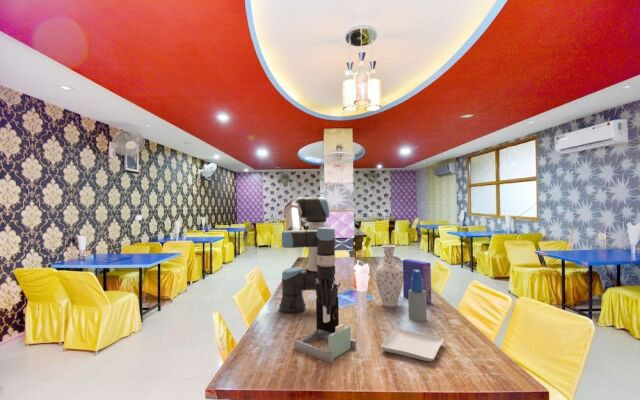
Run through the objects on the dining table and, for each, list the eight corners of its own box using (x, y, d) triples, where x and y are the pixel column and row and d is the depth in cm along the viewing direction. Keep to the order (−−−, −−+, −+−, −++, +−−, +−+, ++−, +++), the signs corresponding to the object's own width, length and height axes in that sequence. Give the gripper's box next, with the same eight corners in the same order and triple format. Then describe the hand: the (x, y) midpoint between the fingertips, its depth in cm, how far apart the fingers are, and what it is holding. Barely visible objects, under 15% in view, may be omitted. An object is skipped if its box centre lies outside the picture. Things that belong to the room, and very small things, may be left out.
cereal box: (431, 302, 193) (430, 262, 193) (426, 304, 190) (425, 263, 190) (408, 295, 207) (407, 258, 207) (403, 297, 204) (402, 259, 205)
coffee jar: (337, 336, 145) (336, 296, 145) (314, 335, 147) (313, 295, 147) (340, 327, 155) (339, 290, 155) (318, 326, 157) (318, 289, 157)
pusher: (328, 359, 123) (328, 330, 123) (348, 347, 133) (347, 320, 133) (330, 360, 122) (330, 331, 122) (350, 348, 132) (350, 321, 132)
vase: (373, 307, 184) (372, 247, 185) (378, 299, 199) (378, 243, 199) (401, 311, 178) (400, 248, 178) (405, 302, 193) (404, 244, 193)
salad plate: (433, 367, 117) (433, 358, 117) (379, 353, 128) (379, 345, 128) (445, 345, 135) (445, 337, 135) (396, 335, 146) (396, 327, 146)
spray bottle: (409, 315, 171) (408, 268, 172) (426, 316, 169) (425, 269, 169) (408, 320, 163) (407, 271, 163) (426, 322, 160) (425, 272, 160)
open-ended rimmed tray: (294, 348, 133) (294, 340, 133) (319, 336, 145) (319, 328, 145) (332, 363, 120) (332, 354, 120) (356, 349, 132) (356, 340, 132)
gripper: (308, 264, 134) (308, 320, 134) (332, 268, 125) (333, 328, 125) (320, 261, 139) (320, 315, 140) (344, 265, 131) (344, 322, 131)
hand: (326, 321), depth 132 cm, fingers closed
